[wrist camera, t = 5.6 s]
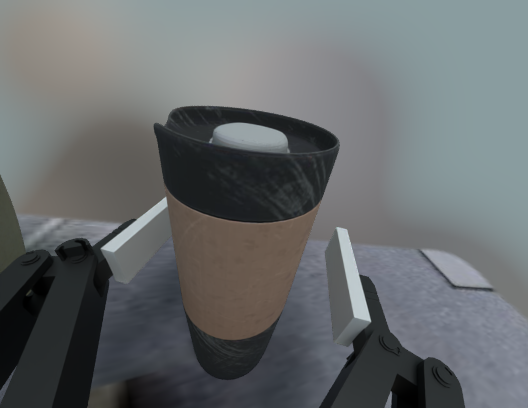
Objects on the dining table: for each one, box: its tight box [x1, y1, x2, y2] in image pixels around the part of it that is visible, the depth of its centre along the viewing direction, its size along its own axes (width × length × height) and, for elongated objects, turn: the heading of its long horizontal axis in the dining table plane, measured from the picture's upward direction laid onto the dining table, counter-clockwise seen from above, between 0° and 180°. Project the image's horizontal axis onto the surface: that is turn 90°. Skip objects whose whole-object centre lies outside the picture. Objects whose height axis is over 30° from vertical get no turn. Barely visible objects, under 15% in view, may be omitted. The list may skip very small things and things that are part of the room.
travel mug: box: [154, 106, 340, 380], centre depth 14 cm, size 8×8×20 cm
